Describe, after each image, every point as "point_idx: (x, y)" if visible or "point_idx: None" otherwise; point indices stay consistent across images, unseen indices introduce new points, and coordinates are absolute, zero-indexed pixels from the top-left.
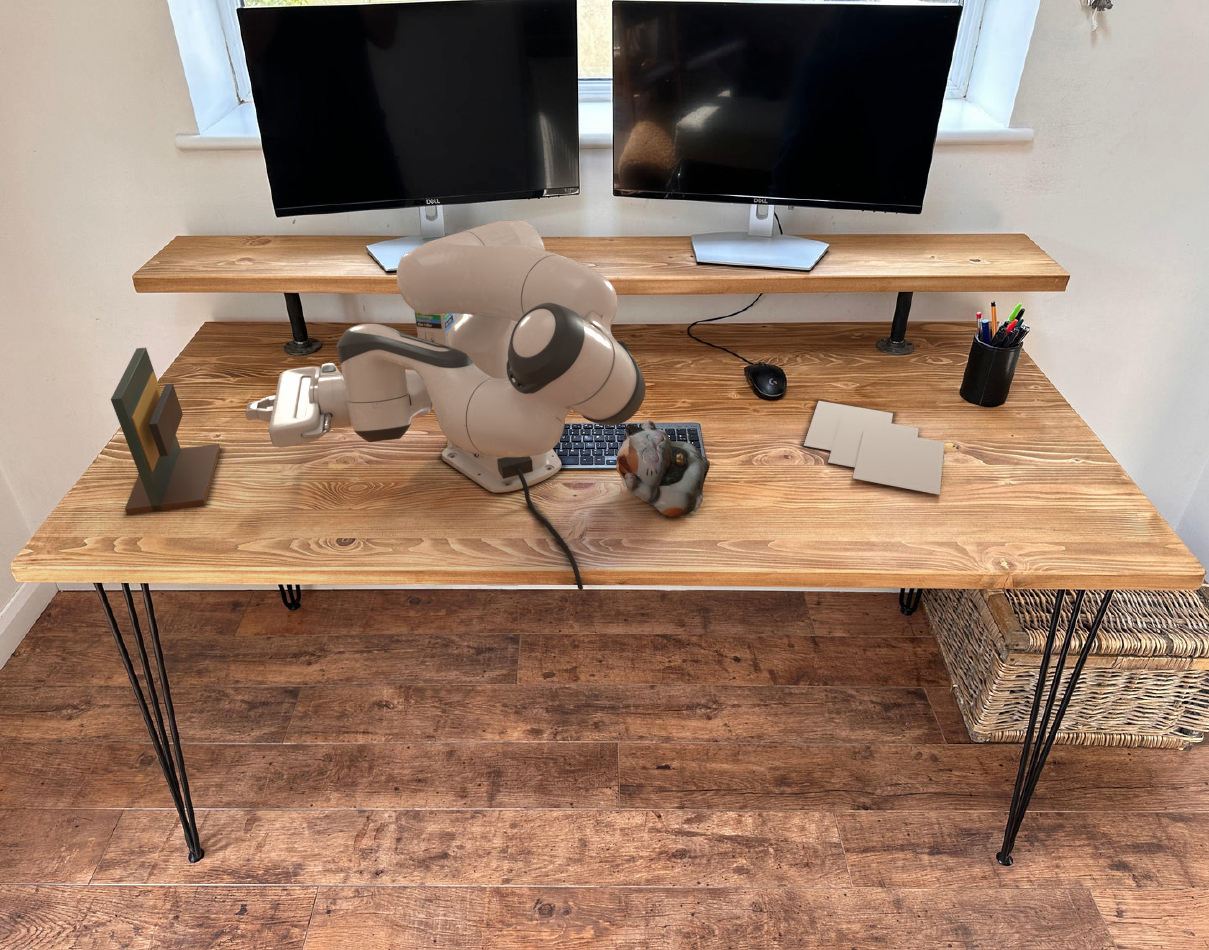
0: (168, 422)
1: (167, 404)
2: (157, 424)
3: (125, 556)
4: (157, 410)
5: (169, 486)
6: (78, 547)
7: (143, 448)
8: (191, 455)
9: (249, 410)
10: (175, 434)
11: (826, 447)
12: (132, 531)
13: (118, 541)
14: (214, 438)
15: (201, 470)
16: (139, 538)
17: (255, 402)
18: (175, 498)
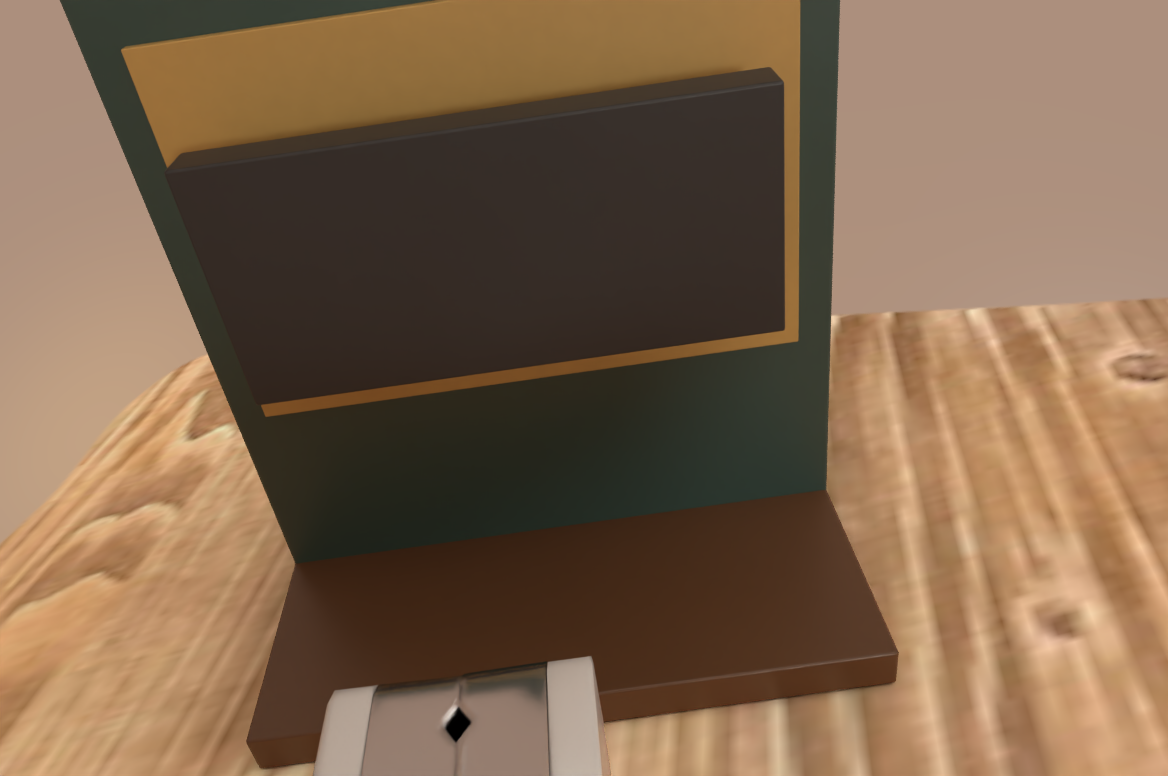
0: (430, 260)
1: (513, 156)
2: (177, 183)
3: (21, 565)
4: (365, 131)
5: (453, 549)
6: (189, 425)
7: None
8: (751, 553)
9: (322, 732)
10: (510, 367)
11: None
12: (197, 533)
13: (151, 513)
14: (1025, 613)
15: (580, 644)
16: (125, 571)
17: (562, 755)
18: (324, 605)
